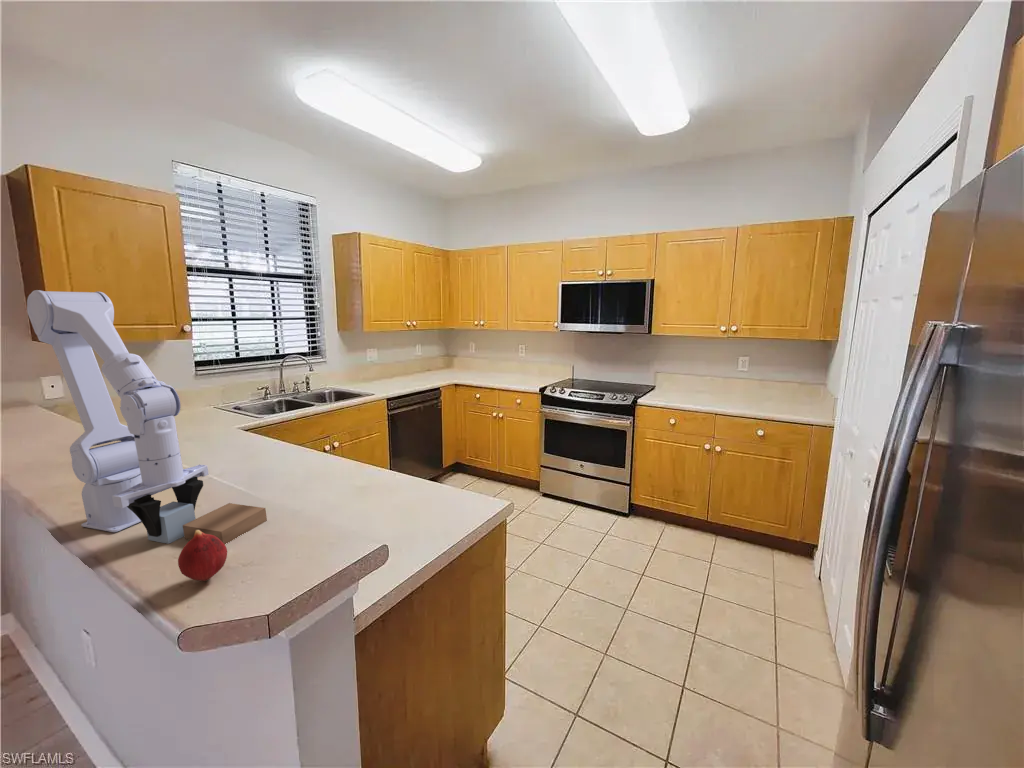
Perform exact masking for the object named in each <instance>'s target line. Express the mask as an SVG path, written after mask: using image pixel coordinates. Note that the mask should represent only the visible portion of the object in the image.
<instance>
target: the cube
mask: <svg viewBox="0 0 1024 768" xmlns="http://www.w3.org/2000/svg"><path fill="white" fill-rule="evenodd" d="M195 519H197V518H196V515H195V511H194V506H193V504H188V503H181V502H178V501H171V502H169V503H166V504H164V505H160V523H161V530H162V533H161V535H160V536H158V537H154V536H149V534H148V532H147V531H146V535H147V539H148V541H151V542H152V541H154V542H157V543H163V544H172V543H174V542H175V541H178V540H179V539H181V538H184V531H183V525H184V524H186V523H188V522H191V521H193V520H195Z"/></svg>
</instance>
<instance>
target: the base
mask: <svg viewBox="0 0 1024 768" xmlns="http://www.w3.org/2000/svg"><path fill="white" fill-rule="evenodd" d="M265 522H268V516H267V511H266V507H260V506H252V505H246V504H238V503H233V502H232V503H231V502H229V503H227V504H224V505H222V506H220V507H218V508H216V509H214V510H212V511H209V512H208V513H206V514H203V515H201V516H199V517H197V518H196V519H195V520H193V521H191V522H188V523H186V524H184V525H183V531H184V536H183V538H184V539H185V540H189V541H190V540H191V539H192V538H194V534H195V530H200V531H201V532H203V533H205V534H210V535H214V536H216V537H217V538H219V539H220V540H221V541H222V542H223V543H224V544H226V543H227V544H229V543H231V542H232V540H233V539H234V540H236V539H238V538H239V537H238V536H240V535H241V536H243V535H245V534H247V533H248V532H251V531H252V530H254V529H256V528H257V527H259V526H260V525H262V524H264V523H265ZM246 532H247V533H246ZM244 533H245V534H244ZM242 534H243V535H242ZM241 536H240V537H241ZM237 537H238V538H237ZM235 538H236V539H235ZM234 540H233V541H234ZM230 541H231V542H230ZM228 542H229V543H228ZM227 544H226V545H227Z"/></svg>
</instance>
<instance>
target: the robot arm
mask: <svg viewBox="0 0 1024 768" xmlns="http://www.w3.org/2000/svg"><path fill="white" fill-rule="evenodd" d="M26 304H27V305H26V306H27V307H26V312H27V316H28V318H29V320H30V323H31V325H32V328H33V331H34V333H35V335H36V337H37V339H38V341H39V342H41V343H44V344H48V345H50V346H52V349H53V352H54V354H55V355H56V359H57V361H58V364H59V366H60V370H61V371H62V375H63V377H64V379H65V382H66V385H67V389H68V391H69V393H70V394H71V398H72V400H73V403H74V406H75V408H76V410H77V414H78V416H79V419H80V422H81V424H82V428H83V430H84V432H83V433H82V434H81V435H80V436H79V437H78V438H77V439H76V440H74V441H73V443H72V444H71V445H70V447H69V454H70V457H71V467H72V471H73V473H74V475H75V476H76V478H77V479H78V480H79V481H80V482H81V483H84V486H83V487H82V489H81V499H82V504H83V508H84V513H85V517H86V521H85V522H83V523H81V524H80V525H81V527H83V528H89V529H93V530H99V531H104V532H111V533H117V532H119V531H122V530H125V529H127V528H129V527H132V526H134V525H136V524H138V523H142V525H143V526H144V528H145V529H146V533H147V532H148V534H149V536H154V537H158V536H160V535H161V533H162V530H161V523H160V507H161V506H162V505H161V504H162V501H161V500H158V499H155V498H154V497H152V496H154V495H156V494H158V493H161V492H164V491H167V490H169V489H172V491H173V493H174V495H175V499H176V502H181V503H188V504H193V506H194V512H195V510H196V505H197V502H198V498H199V495H200V493H201V491H202V489H203V487H204V480H202V479H198V478H200V477H201V478H202V477H206V476H208V475H209V474H210V473H209V467H208V464H197V465H194V466H191V467H190V466H189V467H186V468H184V467H183V462H182V461H183V460H182V456H181V455H182V454H181V449H180V442H179V438H178V432H177V431H178V430H177V425H176V423H177V422H176V419H175V417H176V416H178V415H179V413H180V412H181V404H182V403H181V400H180V396H179V394H178V392H177V391H176V390H175V388H174V387H173V385H170V384H167V383H166V382H164V380H163V381H162V380H161V381H160V380H158V379H157V377H156V376H155V374H154V373H153V372H152V371H151V369H150V367H149V366H148V365H147V364H146V362H145V360H144V359H143V358H142V357H141V356H140V355H138V354H135V353H130V352H129V351H128V349H127V347H126V345H125V344H124V341H123V340H122V338H121V336H120V334H119V333H118V331H117V329H116V327H115V325H114V320H115V308H114V304H113V301H112V300H111V298H110V297H109V296H108V295H107V294H106V293H105V292H102V291H94V292H92V291H90V292H89V291H57V290H56V291H54V290H53V291H52V290H50V291H48V290H47V291H46V290H45V291H44V290H42V289H41V290H40V289H39V290H38V289H36V290H32V291H31V293H29V295H28V296H27V300H26ZM94 352H95V353H96V354H97V355H98V357H100V359H102V361H103V363H102V365H101V368H100V367H99V363H98V361H97V358H96V356H95V353H94ZM103 376H104V377H103ZM104 378H106V380H107V381H108V382H109V384H110V385H111V387H112V388H113V390H114V391H115V392H116V394H117V395H118V397H119V398H120V402H119V403H120V406H119V408H120V409H119V410H120V413H121V415H122V417H123V419H124V420H125V422H126V424H127V425H125V424H122V423H121V422H120V420H119V416H118V415H117V411H116V409H115V406H114V403H113V400H112V398H111V396H110V393H109V390H108V387H107V385H106V382H105V379H104ZM112 442H113V443H112ZM104 444H105V445H104ZM91 447H92V448H91Z"/></svg>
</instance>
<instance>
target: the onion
mask: <svg viewBox="0 0 1024 768" xmlns="http://www.w3.org/2000/svg"><path fill="white" fill-rule="evenodd" d="M227 558H228V548H227V546H226V545H225V544H224V543H223V542H222V541H221V540H220V539H219V538H217V537H216V536H214V535H210V534H205V533H203V532H201V531H200V530H195V534H194V538H192V539H191V540H189V541H188V542H187V543H186V544H185V545H184V546H183V548H182V549H181V552H180V554H179V555H178V558H177V566H178V569H179V571H180V573H181V574H182V575H183V576H185V577H186V578H189V579H191V580H193V581H200V582H207V581H209V580H210V579H212V578H213V577H215V575H217V573H219V572H220V570H221V569H222V568H223V567H224V566H225V563H226V561H227Z"/></svg>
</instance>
